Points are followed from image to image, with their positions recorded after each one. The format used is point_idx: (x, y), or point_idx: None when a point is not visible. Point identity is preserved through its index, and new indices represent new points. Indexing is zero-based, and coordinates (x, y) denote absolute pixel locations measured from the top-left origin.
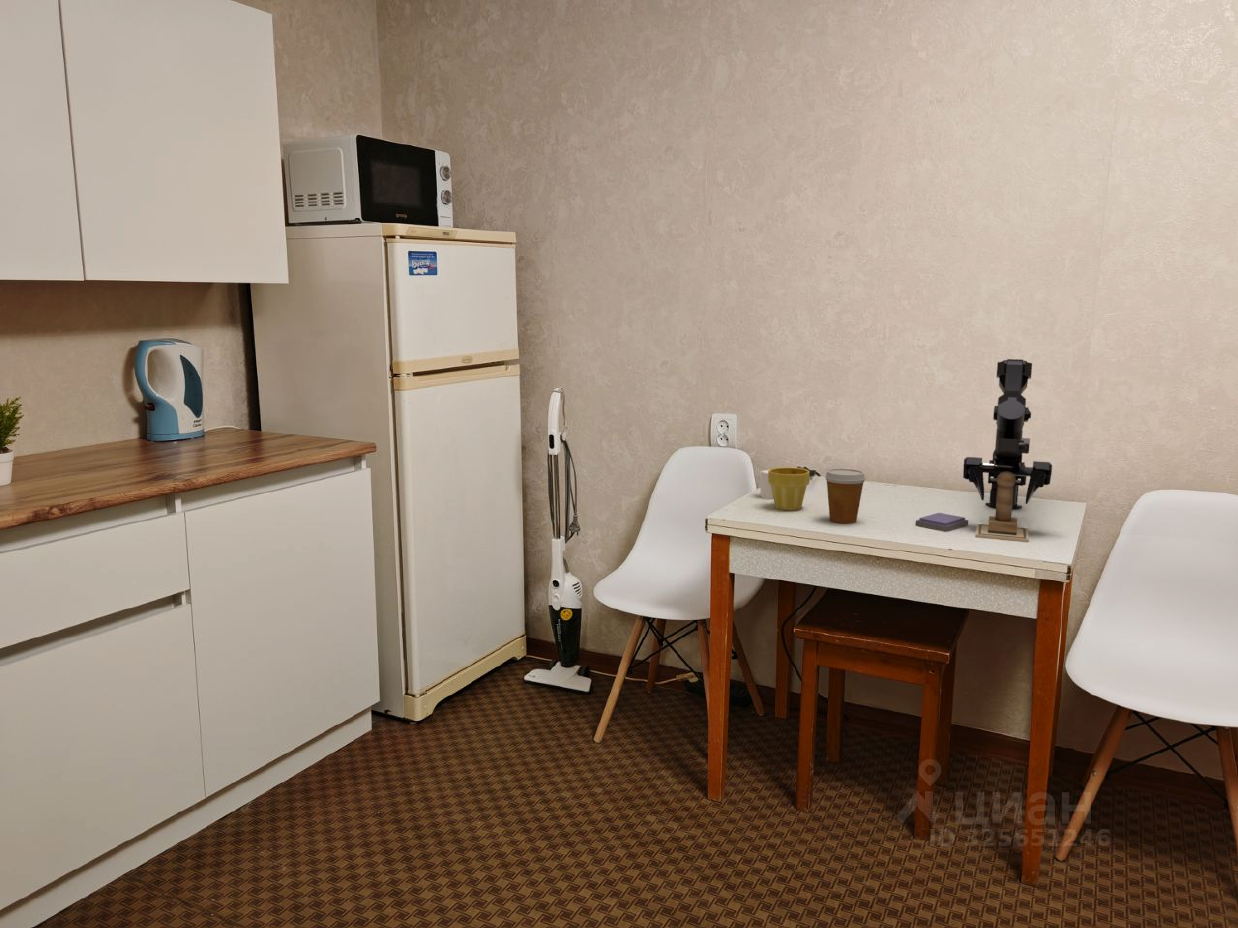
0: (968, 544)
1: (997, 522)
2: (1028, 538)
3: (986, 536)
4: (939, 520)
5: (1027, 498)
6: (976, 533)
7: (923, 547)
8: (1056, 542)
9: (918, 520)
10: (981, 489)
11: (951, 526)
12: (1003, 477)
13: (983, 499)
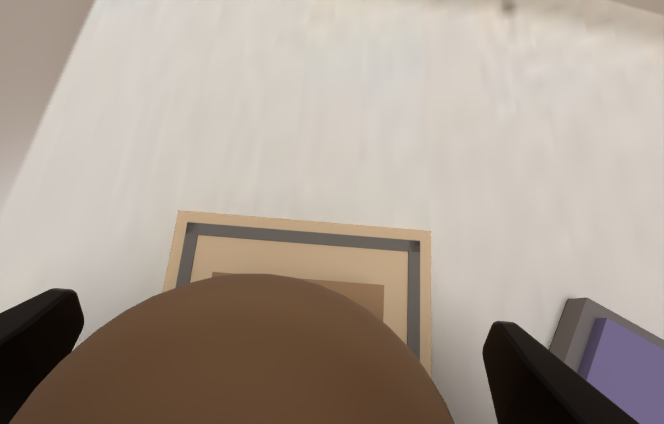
0: (449, 93)
1: (331, 282)
2: (175, 227)
3: (378, 228)
4: (655, 383)
5: (34, 302)
6: (427, 251)
7: (599, 8)
8: (36, 252)
9: None
10: (585, 395)
11: (565, 345)
12: (331, 308)
13: (488, 335)
